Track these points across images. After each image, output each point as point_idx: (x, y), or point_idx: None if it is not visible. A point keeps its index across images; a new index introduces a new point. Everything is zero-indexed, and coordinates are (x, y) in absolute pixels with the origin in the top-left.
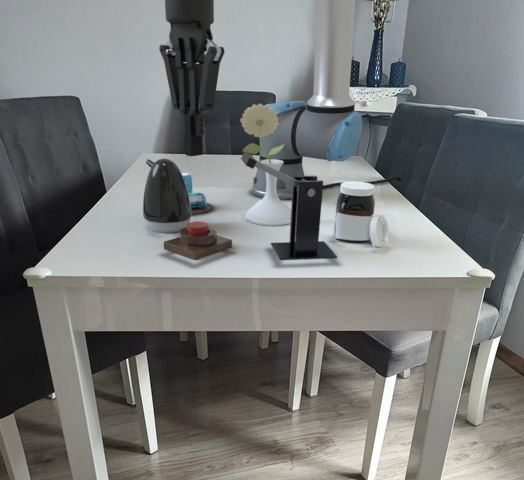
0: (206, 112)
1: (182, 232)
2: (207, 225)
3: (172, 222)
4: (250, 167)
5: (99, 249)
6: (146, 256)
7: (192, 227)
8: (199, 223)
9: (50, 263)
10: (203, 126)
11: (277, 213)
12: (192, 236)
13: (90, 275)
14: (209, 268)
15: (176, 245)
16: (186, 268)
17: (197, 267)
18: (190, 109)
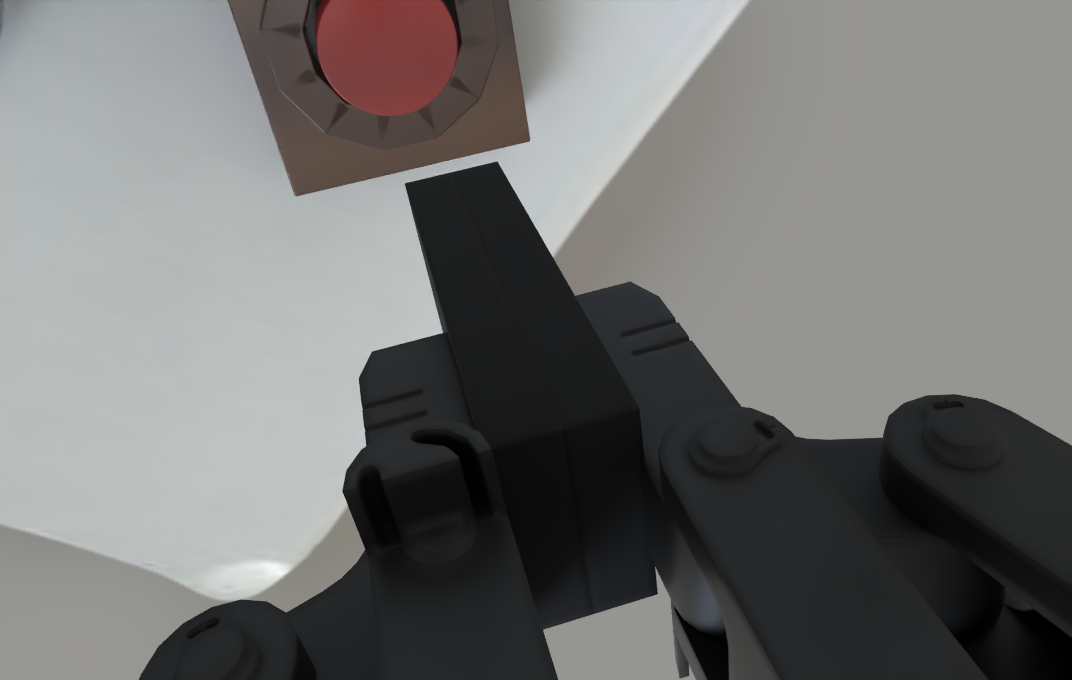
0: (862, 451)
1: (352, 125)
2: (441, 2)
3: (3, 15)
4: None
5: (59, 385)
6: (265, 245)
7: (423, 106)
8: (376, 24)
9: (166, 556)
10: (686, 344)
11: None
12: (449, 114)
13: None
14: (573, 73)
15: (389, 168)
16: (509, 161)
17: (529, 113)
18: (689, 658)
